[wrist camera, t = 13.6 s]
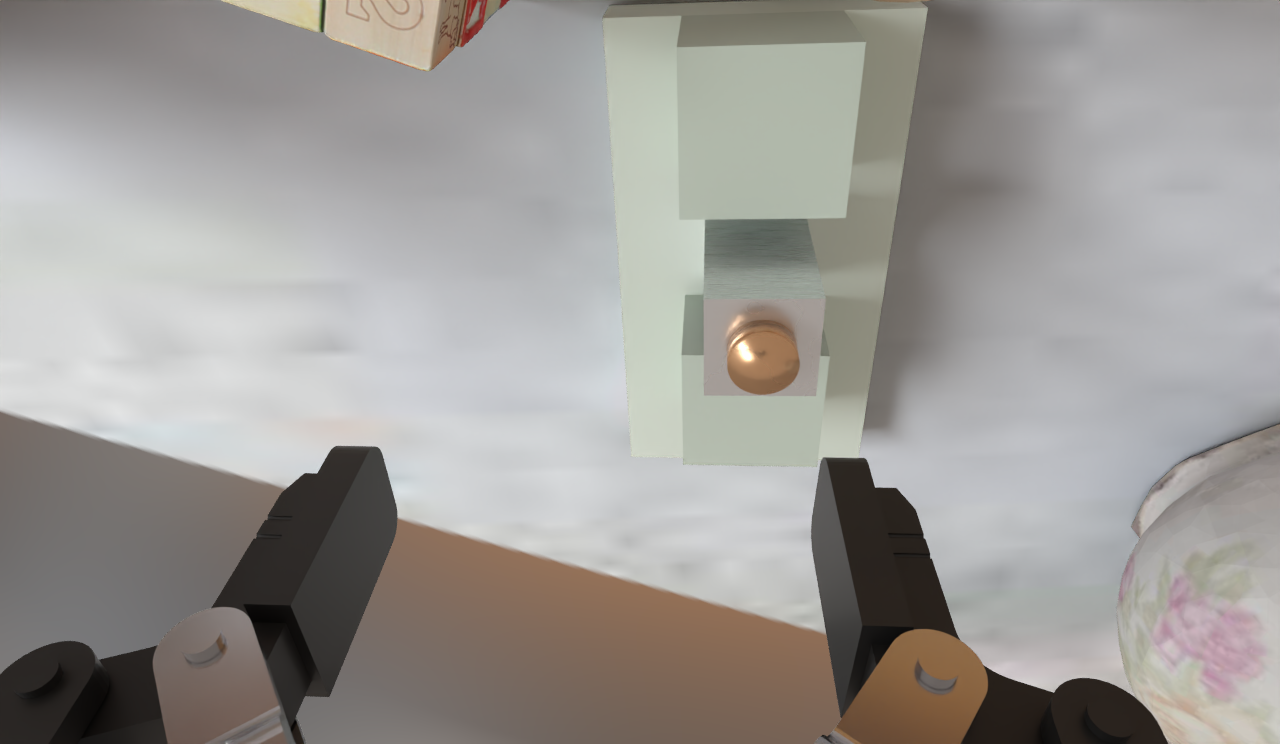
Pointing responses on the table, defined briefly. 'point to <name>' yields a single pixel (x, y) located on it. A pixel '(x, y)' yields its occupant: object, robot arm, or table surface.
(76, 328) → the table surface
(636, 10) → the notch board
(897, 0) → the bobbin
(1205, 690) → the ceramic pitcher
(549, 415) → the table surface
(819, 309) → the box with copper knob
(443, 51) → the stack of blocks
